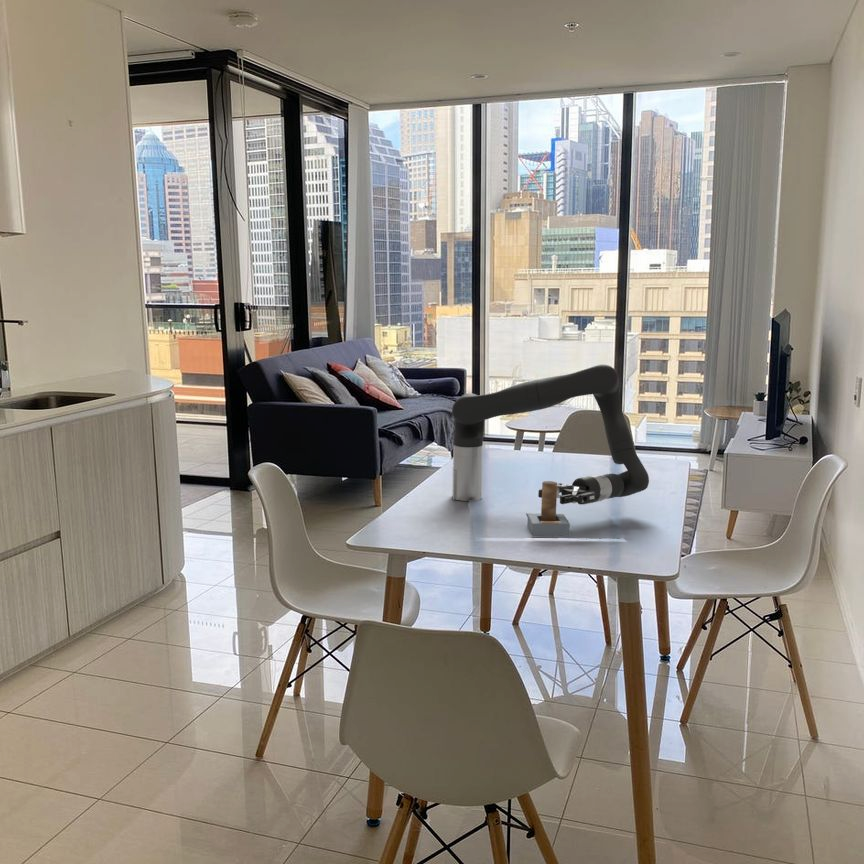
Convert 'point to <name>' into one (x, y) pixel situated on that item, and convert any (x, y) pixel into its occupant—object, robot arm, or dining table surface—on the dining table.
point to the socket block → (548, 525)
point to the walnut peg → (549, 501)
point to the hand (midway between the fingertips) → (549, 497)
